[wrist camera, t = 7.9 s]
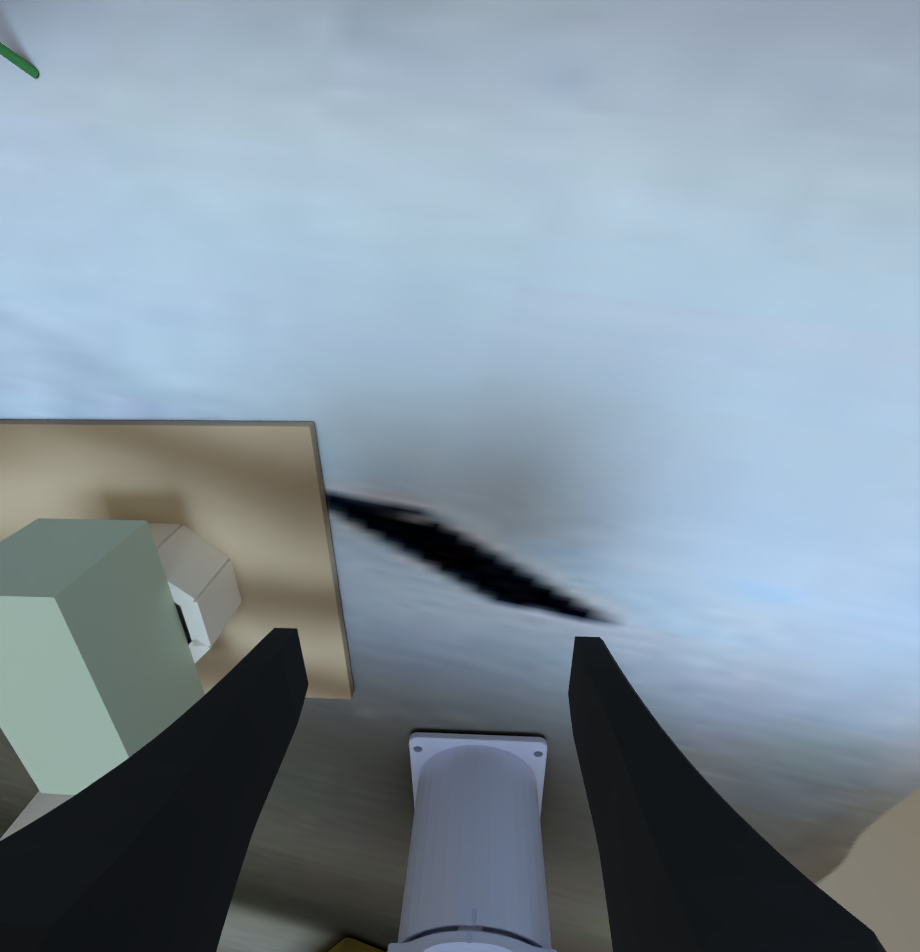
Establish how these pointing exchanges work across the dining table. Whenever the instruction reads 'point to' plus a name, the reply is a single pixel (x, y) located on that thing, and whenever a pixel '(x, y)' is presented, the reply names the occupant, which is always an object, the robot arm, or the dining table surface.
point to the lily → (18, 61)
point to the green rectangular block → (87, 648)
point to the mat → (201, 516)
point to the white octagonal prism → (197, 584)
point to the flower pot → (353, 946)
